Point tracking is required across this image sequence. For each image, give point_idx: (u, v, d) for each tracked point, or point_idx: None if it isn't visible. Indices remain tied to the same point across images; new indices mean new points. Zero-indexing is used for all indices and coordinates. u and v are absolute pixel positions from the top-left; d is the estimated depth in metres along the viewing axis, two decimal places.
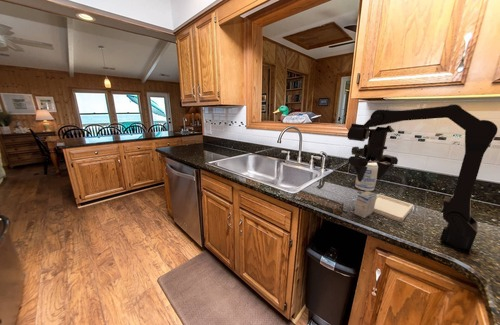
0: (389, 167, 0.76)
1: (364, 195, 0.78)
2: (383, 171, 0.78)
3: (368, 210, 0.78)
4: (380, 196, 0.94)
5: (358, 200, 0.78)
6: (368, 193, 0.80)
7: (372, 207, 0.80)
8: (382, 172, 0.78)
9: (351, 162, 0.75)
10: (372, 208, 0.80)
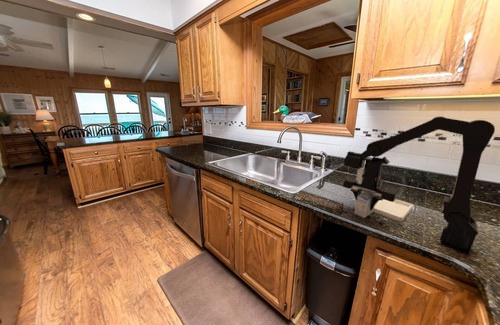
0: (374, 199, 0.75)
1: (364, 195, 0.78)
2: (372, 202, 0.77)
3: (368, 210, 0.78)
4: None
5: (358, 200, 0.78)
6: (368, 193, 0.80)
7: None
8: None
9: None
10: None
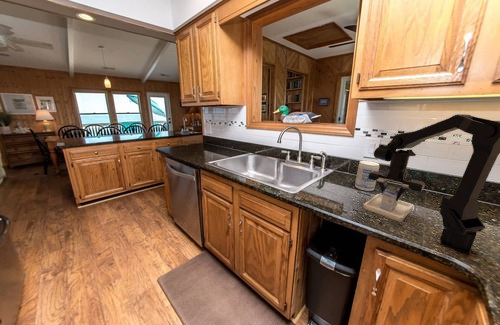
0: (401, 189, 0.78)
1: (390, 190, 0.82)
2: None
3: (394, 204, 0.82)
4: (380, 196, 0.94)
5: (384, 195, 0.82)
6: (393, 188, 0.84)
7: (396, 201, 0.84)
8: (398, 193, 0.81)
9: None
10: (396, 202, 0.84)
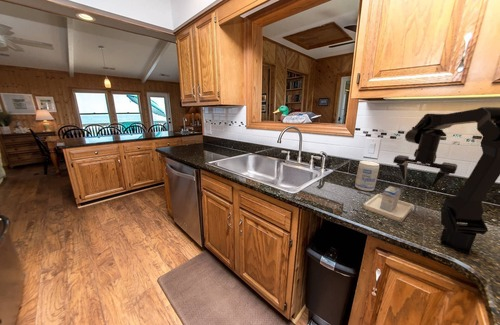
0: (439, 174, 0.72)
1: (390, 190, 0.82)
2: (435, 178, 0.75)
3: (394, 204, 0.82)
4: (380, 196, 0.94)
5: (384, 195, 0.82)
6: (393, 188, 0.84)
7: (396, 201, 0.84)
8: None
9: None
10: (396, 202, 0.84)
